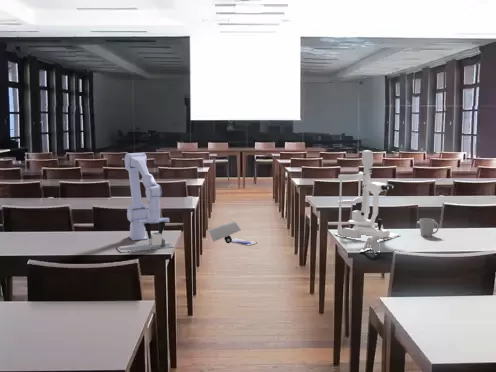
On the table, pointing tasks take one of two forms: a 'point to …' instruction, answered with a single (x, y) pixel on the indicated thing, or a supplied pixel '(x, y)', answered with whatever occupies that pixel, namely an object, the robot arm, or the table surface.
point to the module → (155, 238)
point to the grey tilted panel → (224, 231)
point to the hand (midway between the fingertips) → (154, 237)
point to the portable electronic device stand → (373, 243)
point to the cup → (427, 226)
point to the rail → (146, 246)
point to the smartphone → (243, 242)
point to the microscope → (364, 204)
